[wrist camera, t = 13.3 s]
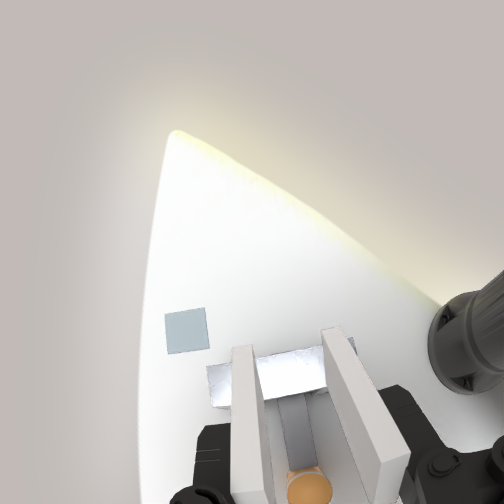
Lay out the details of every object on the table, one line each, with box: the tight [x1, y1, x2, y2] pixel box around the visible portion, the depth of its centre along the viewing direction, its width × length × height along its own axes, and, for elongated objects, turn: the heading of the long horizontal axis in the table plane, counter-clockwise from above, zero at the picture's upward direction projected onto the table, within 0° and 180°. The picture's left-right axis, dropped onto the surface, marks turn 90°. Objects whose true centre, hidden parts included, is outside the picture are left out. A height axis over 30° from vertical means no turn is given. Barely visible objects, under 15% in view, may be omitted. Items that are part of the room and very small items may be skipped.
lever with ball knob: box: [270, 350, 332, 504], centre depth 32 cm, size 4×18×10 cm, turn 9°
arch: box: [206, 337, 357, 410], centre depth 34 cm, size 14×4×13 cm, turn 100°
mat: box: [165, 308, 209, 354], centre depth 44 cm, size 6×6×1 cm
